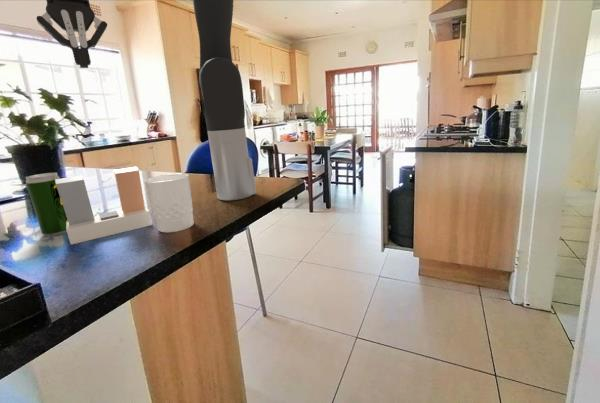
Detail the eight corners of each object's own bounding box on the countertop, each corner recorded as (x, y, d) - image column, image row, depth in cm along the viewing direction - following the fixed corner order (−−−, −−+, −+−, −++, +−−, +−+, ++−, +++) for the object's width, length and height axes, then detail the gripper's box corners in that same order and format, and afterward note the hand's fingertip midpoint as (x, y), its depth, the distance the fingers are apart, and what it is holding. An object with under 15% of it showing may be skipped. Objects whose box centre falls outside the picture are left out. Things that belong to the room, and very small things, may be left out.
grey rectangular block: (93, 215, 61) (82, 175, 56) (94, 219, 60) (83, 179, 55) (68, 220, 59) (55, 179, 54) (69, 225, 58) (55, 183, 53)
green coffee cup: (41, 239, 61) (21, 179, 58) (44, 232, 66) (26, 175, 62) (74, 232, 64) (57, 174, 61) (75, 225, 68) (59, 171, 65)
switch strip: (147, 218, 69) (144, 203, 68) (152, 224, 65) (149, 209, 64) (70, 236, 62) (66, 220, 61) (70, 244, 57) (65, 227, 56)
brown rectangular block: (143, 205, 66) (136, 166, 62) (145, 208, 65) (138, 170, 61) (122, 209, 64) (113, 170, 60) (123, 213, 63) (115, 173, 58)
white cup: (145, 232, 60) (134, 182, 58) (174, 219, 68) (165, 173, 65) (178, 235, 58) (168, 182, 55) (205, 220, 65) (197, 173, 62)
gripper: (18, -37, 58) (45, 64, 63) (100, -25, 65) (120, 65, 70) (23, -22, 64) (48, 69, 69) (98, -12, 71) (116, 70, 76)
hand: (84, 67), depth 69 cm, fingers closed
